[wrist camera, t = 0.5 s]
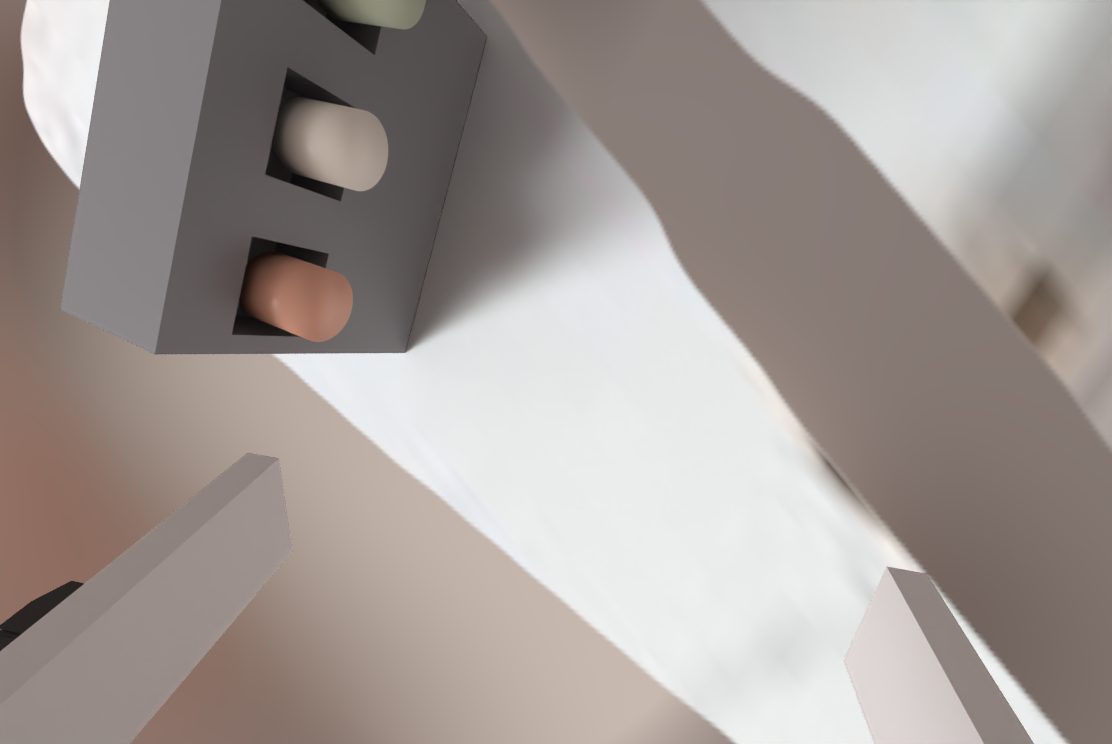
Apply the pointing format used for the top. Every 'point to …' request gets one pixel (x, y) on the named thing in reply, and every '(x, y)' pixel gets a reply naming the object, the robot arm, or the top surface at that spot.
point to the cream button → (330, 143)
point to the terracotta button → (296, 296)
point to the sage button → (376, 12)
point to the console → (259, 169)
